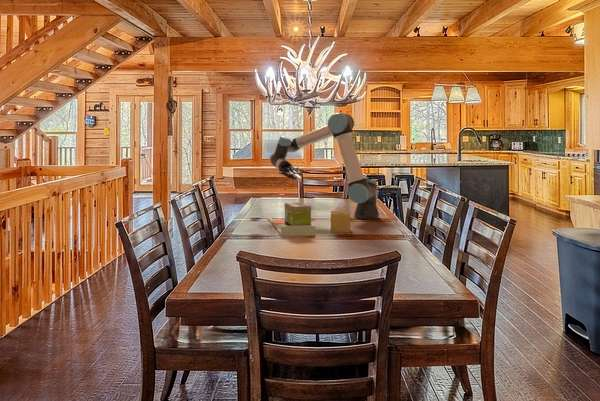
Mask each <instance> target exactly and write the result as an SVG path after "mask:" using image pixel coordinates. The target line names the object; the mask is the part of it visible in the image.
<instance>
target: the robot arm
mask: <svg viewBox="0 0 600 401" xmlns="http://www.w3.org/2000/svg"><path fill="white" fill-rule="evenodd" d="M354 127H355V120H354V118H353V116H351V115H350V114H348V113H343V112H336V113H333V114H332V115H330V116H329V118H328V120H327V124H326V125H323V126H322V127H319V128H317V129H314V130H312V131H309V132H307V133H305V134H302V135H300V136H297V137H295V138H292V139H291V138H290V137H287V136H285V135H281V136H280V137H279V139H278V141H277V144H276V148H275V150H274V152H273V153H272V154H271V155H270V157H269V161H270V164H271V165H272V166H273V167H274V168H276V169H277V170H278V173H279V175H283V176H284V177H286V178H289V179H291V180H295V181H296V182H298V183H302V178H303V177H302V176H301V175H302V174H301V171H300V169H299V167H296V168H295V167H294V166H293V165H292V163H291V162H289V161H288V160H287V159H286V158H287V155H288V153H296V152H297V151H299V150H301V149H303V148H305V147H309V146H310V145H312V144H313V145H314V144H316V143H318V142H321V141H323V140H326V139H329V138H331V137H333V140H336V141H337V144H338V147H339V150H340V154H341V155H340V156H341V158H342V161H343V164H344V168H345V171H346V176H347V178H348V181H347V187H348V191H347V195H348V198H349V199H350V201H352V202H353V203H355V204H356V208H355V211H354V213H353V218H355V219H359V220H360V219H361V220H376V219H379V218H380V212H379V210H378V206H377V194H378V190H377V189H378V188H377V187H378V183H377V181H376V180H375V179H368V178H367V176H364V174H363V171H362V168H361V164H360V161H359V157H358V154H357V151H356V147H355V144H354V140H353V134H354V131H353V129H354Z"/></svg>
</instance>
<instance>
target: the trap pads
mask: <svg viewBox="0 0 600 401" xmlns="http://www.w3.org/2000/svg"><path fill="white" fill-rule="evenodd" d="M272 220H273V221H274V222H275V223H276V224H277V225H279V224H280V225H281V224H284V225H285V218H283V219H272Z"/></svg>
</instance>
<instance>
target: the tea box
mask: <svg viewBox="0 0 600 401" xmlns="http://www.w3.org/2000/svg"><path fill="white" fill-rule="evenodd" d="M284 219H285V224H284V226H295V225H312V206H311V205H309V204H306V203H304V202H284Z"/></svg>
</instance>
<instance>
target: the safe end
mask: <svg viewBox="0 0 600 401" xmlns="http://www.w3.org/2000/svg"><path fill="white" fill-rule="evenodd" d="M276 231H277V233H278V234H279V235H280V237H297V236H298V237H300V236H301V237H305V236H306V237H307V236H316V225H315V224H311V225H295V226H285V225H280V229H277V230H276Z"/></svg>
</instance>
